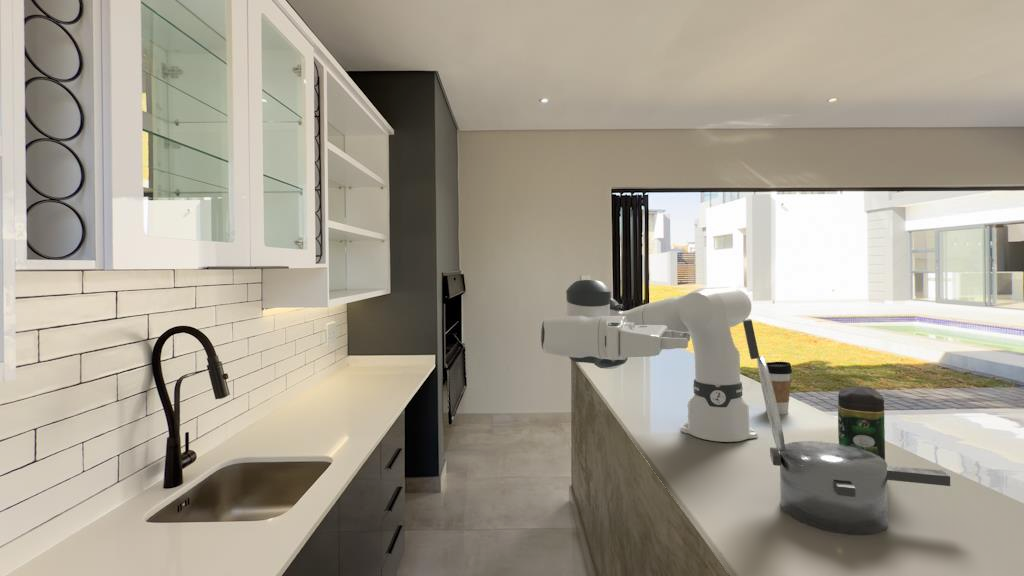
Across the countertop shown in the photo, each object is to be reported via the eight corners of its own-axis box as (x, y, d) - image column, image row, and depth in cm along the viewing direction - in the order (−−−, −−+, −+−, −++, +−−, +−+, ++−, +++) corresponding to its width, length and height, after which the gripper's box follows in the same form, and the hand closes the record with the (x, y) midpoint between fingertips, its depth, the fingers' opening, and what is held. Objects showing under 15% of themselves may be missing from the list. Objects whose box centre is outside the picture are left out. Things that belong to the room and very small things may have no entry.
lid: (777, 434, 100) (765, 435, 101) (752, 315, 101) (740, 317, 102) (789, 464, 85) (775, 465, 85) (760, 323, 86) (746, 325, 86)
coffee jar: (838, 466, 111) (837, 381, 110) (883, 473, 106) (882, 385, 106) (839, 482, 102) (837, 391, 102) (887, 490, 98) (886, 395, 98)
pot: (766, 481, 103) (765, 433, 103) (921, 499, 94) (921, 445, 94) (779, 532, 83) (779, 472, 83) (979, 560, 74) (979, 492, 74)
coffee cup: (798, 415, 150) (797, 365, 150) (769, 416, 150) (769, 365, 150) (783, 408, 159) (783, 360, 158) (756, 408, 159) (755, 361, 159)
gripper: (625, 346, 113) (691, 348, 108) (607, 361, 94) (686, 365, 89) (625, 317, 113) (691, 318, 107) (607, 327, 94) (686, 329, 88)
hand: (689, 339), depth 98 cm, fingers open, 8 cm apart
